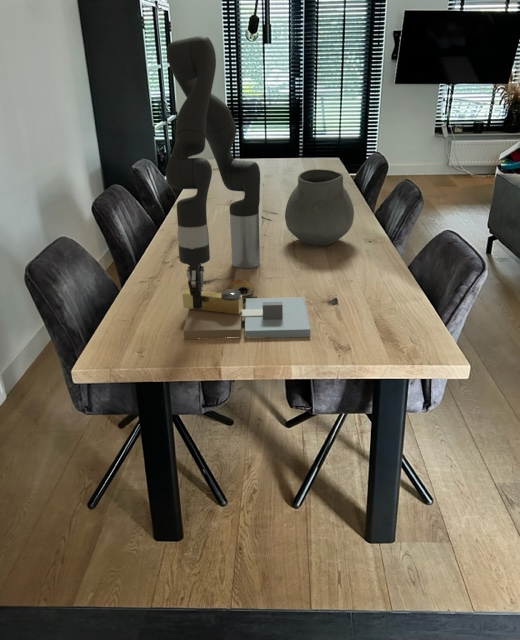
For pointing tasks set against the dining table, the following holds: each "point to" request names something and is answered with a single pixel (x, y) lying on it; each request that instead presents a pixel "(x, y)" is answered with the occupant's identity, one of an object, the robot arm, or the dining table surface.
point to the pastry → (242, 287)
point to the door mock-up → (252, 320)
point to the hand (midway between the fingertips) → (197, 307)
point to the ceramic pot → (319, 208)
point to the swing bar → (217, 301)
